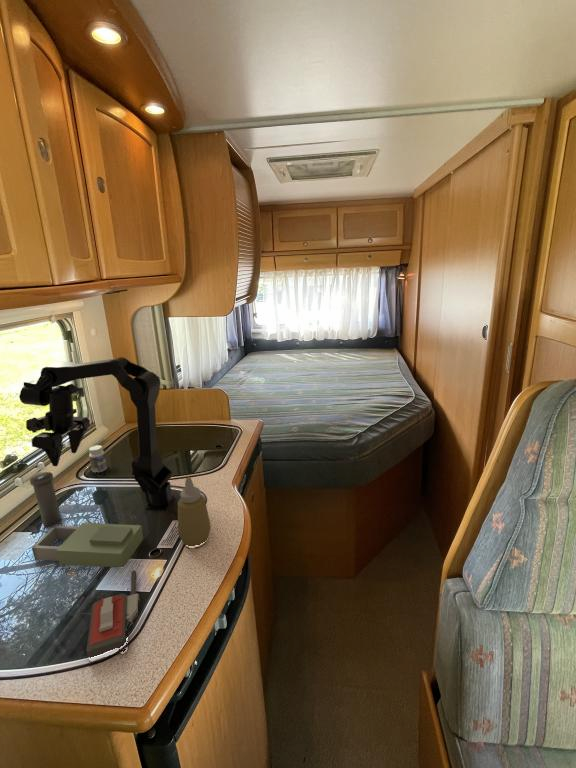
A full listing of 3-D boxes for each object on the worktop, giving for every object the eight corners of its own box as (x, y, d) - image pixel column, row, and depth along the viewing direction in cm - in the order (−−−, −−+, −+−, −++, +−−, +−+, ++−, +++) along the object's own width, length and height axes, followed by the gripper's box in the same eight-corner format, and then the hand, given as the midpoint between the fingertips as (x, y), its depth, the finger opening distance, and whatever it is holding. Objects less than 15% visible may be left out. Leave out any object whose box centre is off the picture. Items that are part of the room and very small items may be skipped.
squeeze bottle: (192, 557, 91) (183, 492, 86) (173, 542, 96) (164, 480, 91) (218, 539, 97) (212, 477, 92) (199, 526, 102) (192, 466, 97)
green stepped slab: (143, 538, 98) (140, 521, 96) (123, 567, 89) (120, 549, 87) (59, 534, 101) (55, 517, 99) (31, 562, 91) (26, 544, 89)
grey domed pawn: (67, 515, 108) (56, 472, 104) (54, 527, 103) (43, 482, 99) (50, 515, 109) (39, 471, 104) (37, 527, 104) (24, 482, 100)
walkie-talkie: (139, 653, 69) (139, 574, 87) (136, 634, 68) (136, 558, 86) (86, 671, 66) (97, 586, 84) (81, 652, 65) (94, 569, 83)
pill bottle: (101, 473, 130) (96, 451, 128) (89, 472, 131) (84, 450, 128) (110, 466, 134) (106, 445, 132) (98, 465, 135) (94, 444, 133)
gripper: (53, 397, 116) (56, 445, 119) (8, 415, 98) (14, 471, 101) (89, 399, 116) (92, 447, 119) (51, 418, 98) (56, 474, 101)
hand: (65, 459), depth 110 cm, fingers open, 9 cm apart
